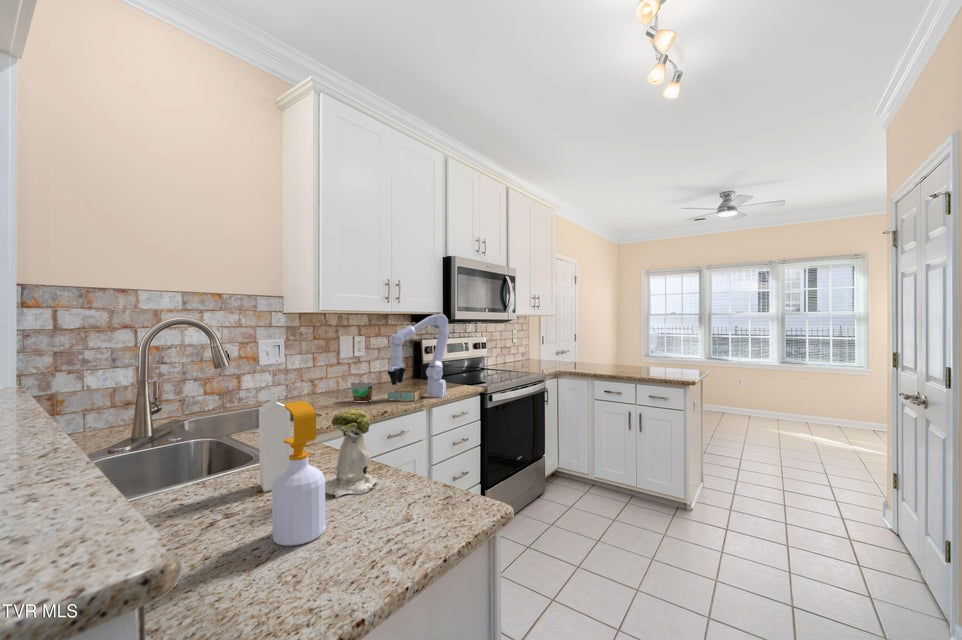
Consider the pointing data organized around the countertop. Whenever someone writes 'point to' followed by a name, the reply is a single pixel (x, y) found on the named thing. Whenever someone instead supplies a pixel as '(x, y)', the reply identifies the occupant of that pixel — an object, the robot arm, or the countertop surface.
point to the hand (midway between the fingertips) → (397, 383)
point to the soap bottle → (299, 486)
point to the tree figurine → (351, 455)
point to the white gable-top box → (273, 442)
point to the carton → (415, 393)
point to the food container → (362, 391)
